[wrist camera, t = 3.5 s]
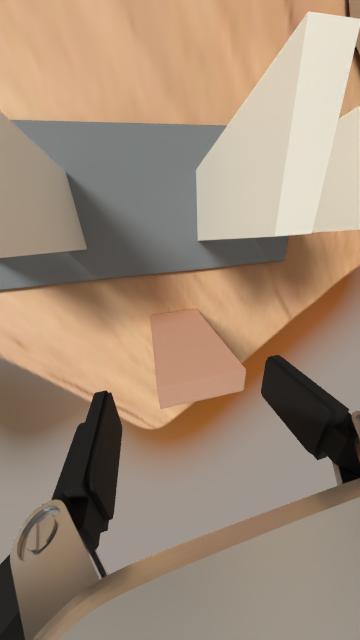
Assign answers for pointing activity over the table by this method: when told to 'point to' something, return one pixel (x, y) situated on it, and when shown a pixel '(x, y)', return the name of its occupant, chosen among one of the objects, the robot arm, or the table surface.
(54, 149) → the slate mat
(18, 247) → the tile
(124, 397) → the table surface
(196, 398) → the tile
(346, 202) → the tile
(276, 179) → the tile
